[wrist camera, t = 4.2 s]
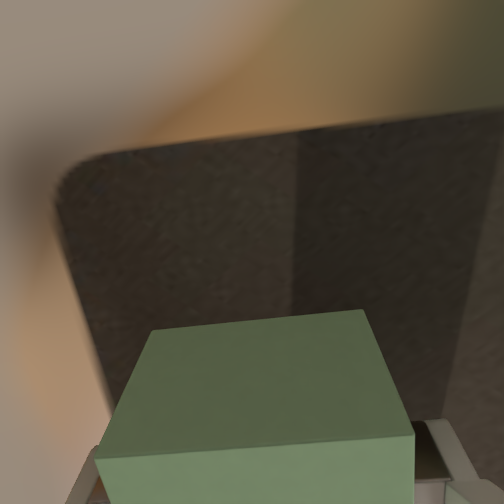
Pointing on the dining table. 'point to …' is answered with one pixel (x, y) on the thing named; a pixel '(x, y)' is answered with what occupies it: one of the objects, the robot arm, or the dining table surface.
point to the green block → (260, 417)
